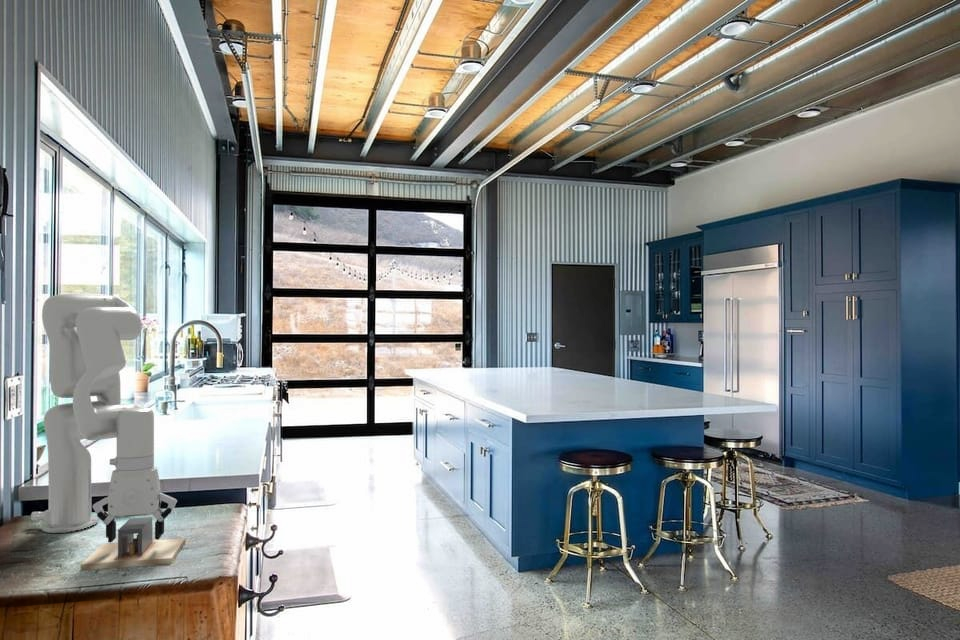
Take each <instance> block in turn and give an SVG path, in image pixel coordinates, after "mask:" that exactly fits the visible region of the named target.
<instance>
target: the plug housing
mask: <svg viewBox="0 0 960 640" xmlns="http://www.w3.org/2000/svg"><path fill="white" fill-rule="evenodd" d="M135 535H138V556H142V555H143V554H144V553H145V552H146V550H147V549H148V548H149V547H150V545H151V544H152V540H153V516H151V517H149V516H147V517H133V518H132V517H131V518H129V519H128V520H127V521H125V523H124V524H123V525H121V527H119V529H118V530H117V543H118V558H120V557H123V556H124V555H125V554H126V552H127V551H128V550H129V543H132V542H133V539H135V537H134V536H135Z"/></svg>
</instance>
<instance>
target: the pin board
mask: <svg viewBox="0 0 960 640" xmlns="http://www.w3.org/2000/svg"><path fill="white" fill-rule="evenodd" d="M185 544H186V537H184V538H181V537H180V538H167V539H158V540H156V539H152V544H151V545H150V547H149V548H148V549H147V550H146V552H145V553H144V554H143V555H142V556H138V534H136V538H135V537H134V539H133V542H132V543H129V550H128V551H127V552H126V554H125V555H124V556H123V557H120V558H118V542H106V543H101V544H100V545H99V546H98V547H97V548H96V549H95V550H94V551H93V552H92V553H90V555H88V556H87V558H86V559H85V560H84V561H83V562H82V563H80V571H84V570H85V571H87V570H102V569H113V568H114V569H116V568H127V567H128V568H129V567H130V568H131V567H142V566H143V565H145V566H156V565H155V564H159V565H171V564H173V562H174V561H173V560H176V558H177V556H178V555H179V553H180V552H181V550H182V549H181V548H183V547H184V546H185ZM183 545H184V546H183ZM179 551H180V552H179ZM177 554H178V555H177ZM175 557H176V558H175Z"/></svg>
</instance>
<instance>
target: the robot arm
mask: <svg viewBox="0 0 960 640" xmlns="http://www.w3.org/2000/svg"><path fill="white" fill-rule="evenodd" d="M41 320H42V326H43V328H44V330H45V334H46V336H47V340H48V344H49V372H50V373H49V379H50V380H49V381H50V389H51V392H52V394H53V395H54V396H55V397H57V398H61V399H62V398H63V399H72V402H69V403H68V402H67V403H61V404H57V405H54V406H52V407H50V408H49V409H48V410H47V411H46V412H45V414H44V416H43V427H44V433H45V438H46V439H45V440H46V443H47V458H48V459H47V460H48V461H47V466H48V467H47V468H48V469H47V470H48V509H45V510H44V511H32V512H31V514H30V520H32V522H39V521H42V522H43V523H42V524H41V525H40V526H41V531H42V532H44V533H48V534H49V533H50V534H57V533H59V534H60V533H62V534H63V533H70V532H71V531H72V532H76V530H78V531H81V529H82V530H85V529H84V528H86V529H88V528H87V527H89V528H91V527H90V526H92V525H94V524H96V523H97V522H98V523H99V519H100V520H101V521H102V522H103V524H104V525H105V538H107V543H113V541H115V539H116V538H117V521H116V520H115V518H116V517H117V518H119V517H121V518H122V517H138V516H139V517H141V516H151V515H152V517H154V518H155V519H156V521H155V522H154V540H160V538H161V537H162V535H164V533H165V519H166V518H167V517H168V516H170V514H171V513H172V512H173V510H174V508H175V507H176V505H177V504H178V503H177V502H178V500H177V499H176V498H174V497H173V496H170V495H168V494H165V493H162V492H161V482H160V476H159V472H158V468H157V466H155V458H154V457H155V413H154V411H153V410H152V409H151V408H149V407H143V406H142V405H141V404H137V403H123V404H122V403H121V401H122V400H121V397H122V396H121V376H120V375H121V374H120V371H122V370H123V369H124V368H125V367H126V364H127V362H126V361H127V360H126V356H125V353H124V349H123V345H122V341H135V340H137V339H138V338H139V337H140V336H141V333H142V328H143V323H142V320H141V317H140V314H139V313H138V310H136V309H135V308H134V307H133V306H132V305H131V304H129V303H128V302H127V301H125V300H124V299H122V298H120V297H119V296H117V295H110V294H109V295H108V294H87V293H86V294H84V293H63V294H56V295H52V296H49V297H48V298H47V299H46V300H45V301H44V303H43V305H42V309H41ZM91 397H96V398H97V399H96V400H93V401H92V399H91ZM115 438H116V456H115V457H114V458H110V459H109V465H110V466H114V467H115V469H114V470H112V472H111V476H110V481H109V489H108V496H107V497H104V498H102V499H101V500H99V501H96V502H95V503H94V504H92V455H91V452H90V451H89V450H88V448H87V447H85V445H83V443H82V442H81V440H87V441H100V440H107V439H115ZM162 502H164V503H166V504H167V505H168V506H167V507H166V508H165V510H163V509H162V508H161V505H162ZM105 505H107V512H106V511H105V510H104V508H103V506H105ZM92 509H93V510H94V512H95V514H96V515H92ZM98 523H97V524H98ZM97 524H96V525H97ZM94 526H95V525H94ZM92 527H93V526H92ZM72 532H71V533H72Z"/></svg>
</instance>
